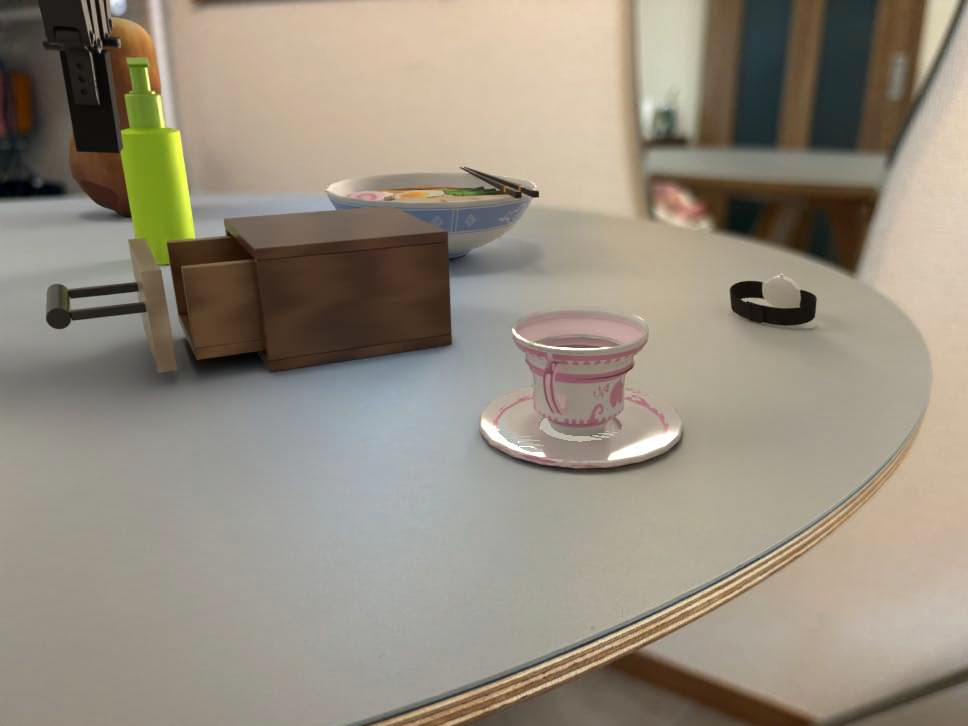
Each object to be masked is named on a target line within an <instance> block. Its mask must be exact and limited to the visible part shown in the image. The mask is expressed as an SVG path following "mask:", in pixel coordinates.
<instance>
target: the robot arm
mask: <svg viewBox="0 0 968 726" xmlns="http://www.w3.org/2000/svg"><path fill="white" fill-rule="evenodd" d="M37 4H38V8H39V11H40V15H41V19H42V20H41V21H42V23H43V24H42V25H43V27H44V36H45V39H44V40H42V42H41V43H42V45H43V48H44V50H45V51H55V52H59V57H60V58H59V59H60V64H61V68H62V74H63V81H64V87H65V92H66V98H67V104H68V110H69V115H70V123H71V129H72V128H73V134H74V139H75V145H76V151H77V152H100V153H120V152H121V150H122V149H123V143H122V136H121V129H120V122H119V115H118V108H117V101H116V95H115V88H114V81H113V74H112V67H111V60H110V53H109V50H102V47H110V48H120V47H121V38H120V37H110V36H109V34H108V33H112V31H113V21H112V19H111V17H112V10H111V9H112V8H111V0H37Z"/></svg>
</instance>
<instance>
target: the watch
mask: <svg viewBox="0 0 968 726" xmlns="http://www.w3.org/2000/svg"><path fill="white" fill-rule="evenodd" d="M729 299H730V308H731V311H732V312H733V313H734V314H736V315H737V316H739V317H741V318H744V319H746V320H748V321H750V322H755V323H758V324H768V325H772V326H783V327H784V326H785V327H786V326H787V327H789V326H801V325H805V324H807V323H810V322H811V321H814V319H815V317H816V311H817V301H818V297H817V296H816V295H815V294H814V293H812V292H810V291H807V290H804V289H803V288H800V287H799V285H798V284H797V283H796V282H795V280H793V279H792V278H790V276H789V277H788V276H785V275H784V273H779V275H777V276H773V277H772V278H770V279H768V280H767V281H766V282H765V281H763V280H762V281H759V280H742V281H738V282H736V283H734V284H732V285H731V286H730V288H729ZM745 299H762V300H765V301H766V302H767V303H768V304H769V305H770V306H769V305H763V304H759V303H756V302H755V303H754V302H752V301H748V300H746V301H745Z"/></svg>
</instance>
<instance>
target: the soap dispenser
mask: <svg viewBox="0 0 968 726" xmlns="http://www.w3.org/2000/svg"><path fill="white" fill-rule="evenodd" d="M126 60H127V65H128V68H129V71H130V77H131V83H132V89H133V91H129V94H125V102H126V108H127V114H128V120H129V126H130V128H128V129H124V130H121V136H122V143H123V149H122V150H121V152H120V153H121V159H122V164H123V170H124V176H125V182H126V187H127V193H128V199H129V204H130V210H131V216H130V217H131V220H132V226H133V232H134V239H139V238H145V239H146V241H147V243H148V245H149V247H150V249H151V251H152V253H153V255H154V257H155V259H156V261H157V263H158V265H159V266H161V265H163V266H164V265H170V264H169V258H168V252H167V245H166V241H170V240H182V239H194V238H197V237H196V231H195V224H194V217H193V211H192V205H191V198H190V197H191V196H190V191H189V190H190V189H189V183H188V178H187V170H186V163H185V158H184V151H183V144H182V143H183V142H182V137H181V131H180V130H179V129H176V128H172V127H167V126H166V119H165V112H164V106H163V98H162V94H161V95H160V94H156V92H155V91H151V86H150V80H149V73H148V68H149V63H148V58H126Z"/></svg>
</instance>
